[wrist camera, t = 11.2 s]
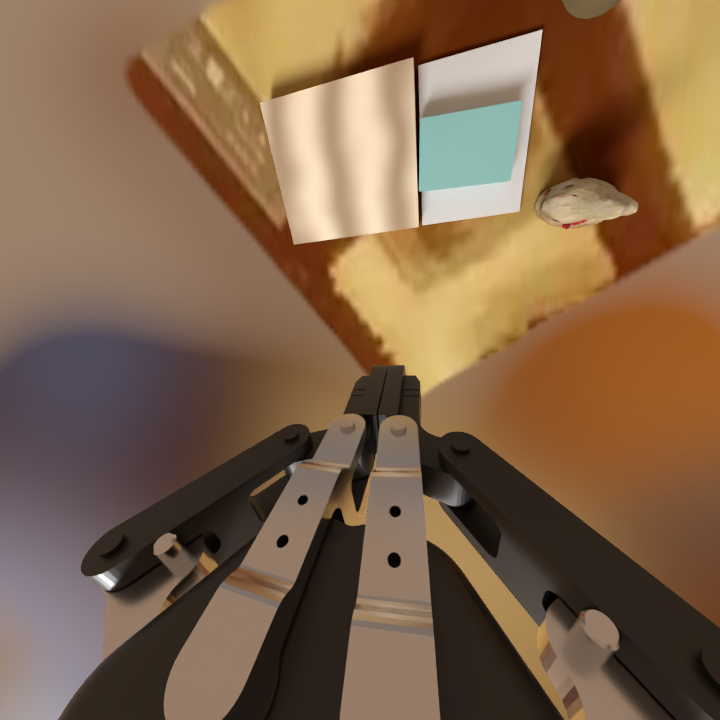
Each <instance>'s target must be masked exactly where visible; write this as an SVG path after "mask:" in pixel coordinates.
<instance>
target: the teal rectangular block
mask: <svg viewBox="0 0 720 720" xmlns="http://www.w3.org/2000/svg"><path fill="white" fill-rule="evenodd" d="M522 102H523V100H521V101H515V102H510V103H504V104H499V105H493V106H487V107H482V108H476V109H471V110H465V111H459V112H454V113H448V114H443V115H437V116H431V117H426V118H420V146H419V192H424V191H433V190H441V189H450V188H458V187H467V186H475V185H484V184H492V183H501V182H506V181H510V180H511V174H512V168H513V161H514V155H515V148H516V141H517V135H518V128H519V122H520V115H521V109H522Z"/></svg>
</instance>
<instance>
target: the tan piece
mask: <svg viewBox="0 0 720 720" xmlns="http://www.w3.org/2000/svg"><path fill="white" fill-rule="evenodd" d="M637 209H638V203H637V202H636V201H635V200H633V199H631V198H630V197H628V196H626V195H625V194H623V193H620V192H618V191H617V189H616V188H615V187H614V186H613V185H611V184H609V183H607V182H605V181H602V180H598V179H595V178H584V179H578V178H573V179H570V180H567V181H565V182H563V183H560V184H557V185H555V186H551V187H550V188H547V189H546V190H544V191H543V192H542V193H541V194H540V195H539V196H538V199H537V201H536V203H535V208H534V211H535V213H536V215H537V217H538V218H539V219H541V220H543V221H545V222H546V223H548V224H549V225H552V226H558V227H562V228H565V229H568V228H580V227H586V226H590V225H593V224H597V223H599V222H601V221H603V220H609V219H613V218H616V217H619V216H626V215H630V214H633V213H635V212H636V211H637Z"/></svg>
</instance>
